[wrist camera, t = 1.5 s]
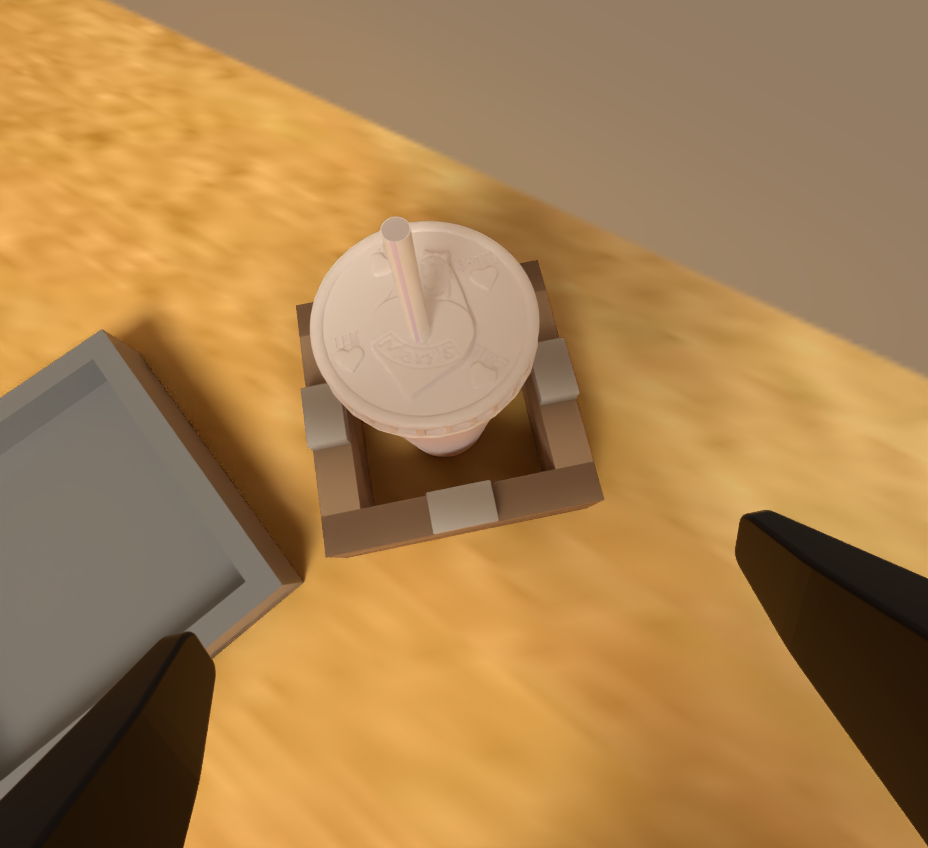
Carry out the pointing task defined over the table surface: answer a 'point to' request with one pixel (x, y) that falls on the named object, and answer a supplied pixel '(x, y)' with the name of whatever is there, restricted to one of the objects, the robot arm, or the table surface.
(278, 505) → the table surface
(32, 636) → the tray
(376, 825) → the table surface
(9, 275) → the table surface
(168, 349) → the table surface
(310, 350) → the clip collar
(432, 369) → the smoothie
